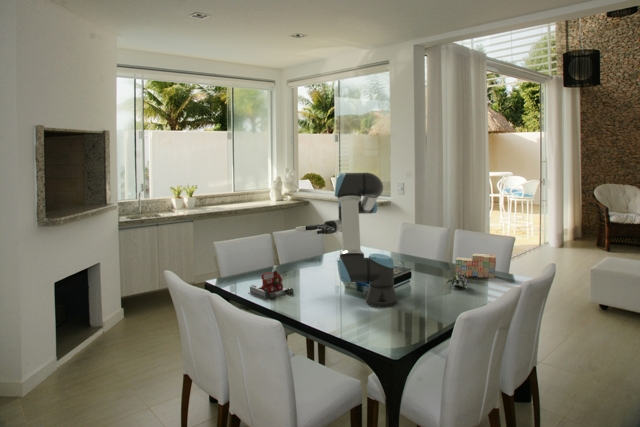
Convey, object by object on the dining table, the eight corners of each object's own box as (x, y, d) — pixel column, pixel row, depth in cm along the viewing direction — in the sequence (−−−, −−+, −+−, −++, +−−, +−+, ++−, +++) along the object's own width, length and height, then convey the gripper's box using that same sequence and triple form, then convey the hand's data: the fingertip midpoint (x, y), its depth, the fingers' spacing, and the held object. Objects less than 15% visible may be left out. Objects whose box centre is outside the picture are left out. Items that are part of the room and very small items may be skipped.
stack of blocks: (455, 275, 270) (455, 254, 269) (456, 272, 276) (457, 252, 274) (494, 278, 262) (495, 257, 260) (495, 275, 267) (496, 254, 266)
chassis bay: (295, 292, 243) (295, 286, 242) (267, 300, 231) (266, 293, 231) (273, 285, 258) (273, 278, 257) (245, 292, 246) (245, 285, 245)
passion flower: (464, 298, 245) (471, 284, 237) (444, 294, 246) (450, 280, 238) (463, 281, 253) (470, 267, 245) (443, 278, 254) (449, 263, 246)
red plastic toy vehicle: (286, 289, 246) (285, 270, 245) (266, 295, 238) (266, 275, 237) (278, 287, 252) (277, 268, 250) (259, 292, 243) (258, 272, 242)
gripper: (348, 235, 256) (319, 241, 243) (318, 230, 275) (289, 235, 261) (348, 222, 255) (318, 227, 242) (318, 217, 274) (289, 222, 260)
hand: (303, 231), depth 251 cm, fingers open, 13 cm apart
